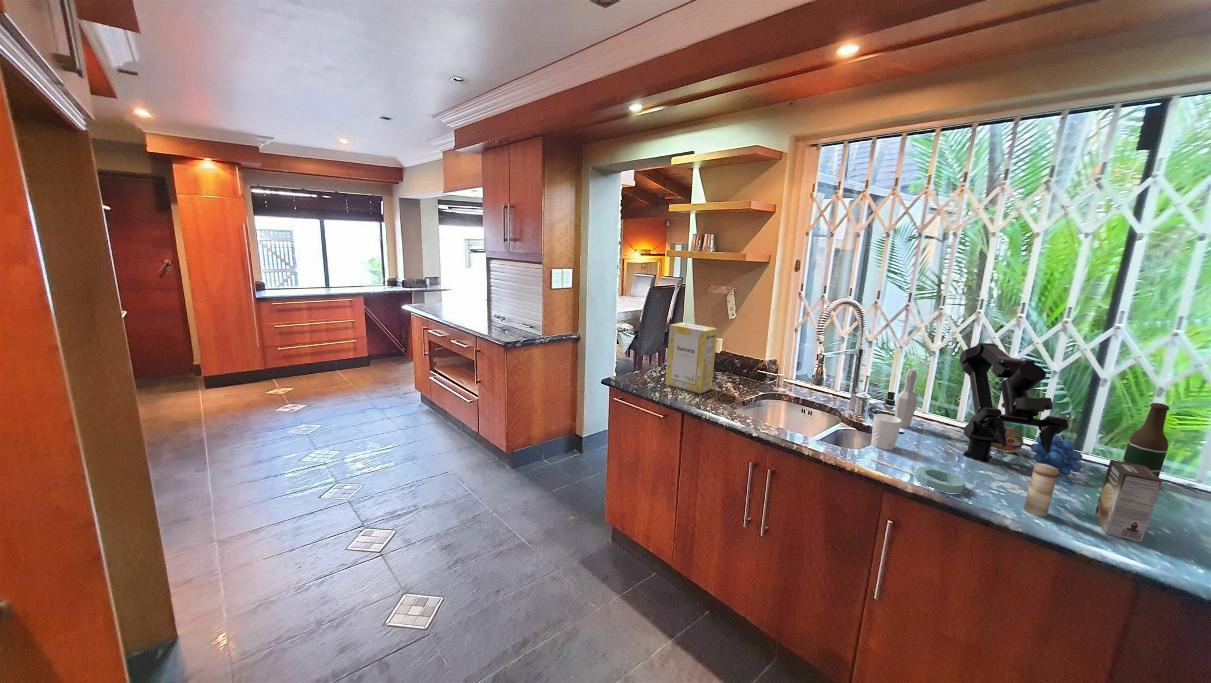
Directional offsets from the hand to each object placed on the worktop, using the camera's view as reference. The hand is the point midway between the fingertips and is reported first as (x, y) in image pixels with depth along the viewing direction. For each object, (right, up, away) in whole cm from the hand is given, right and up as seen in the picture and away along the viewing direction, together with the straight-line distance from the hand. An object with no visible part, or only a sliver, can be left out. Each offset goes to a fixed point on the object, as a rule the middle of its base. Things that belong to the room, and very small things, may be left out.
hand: (1025, 449), depth 123 cm
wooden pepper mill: (-3, -15, -5) cm, 16 cm away
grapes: (+23, -11, +17) cm, 31 cm away
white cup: (-19, -6, +31) cm, 38 cm away
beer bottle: (+48, -13, +15) cm, 52 cm away
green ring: (-18, -11, +7) cm, 23 cm away
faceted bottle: (-1, -3, +51) cm, 51 cm away
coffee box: (+12, -17, -11) cm, 24 cm away
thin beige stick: (-26, -9, +16) cm, 32 cm away
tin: (+20, -8, +34) cm, 40 cm away
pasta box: (-75, +8, +88) cm, 116 cm away
